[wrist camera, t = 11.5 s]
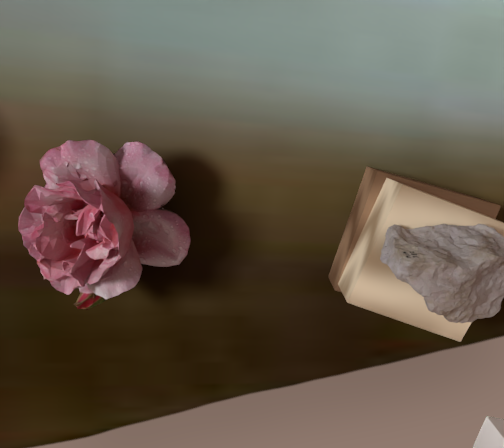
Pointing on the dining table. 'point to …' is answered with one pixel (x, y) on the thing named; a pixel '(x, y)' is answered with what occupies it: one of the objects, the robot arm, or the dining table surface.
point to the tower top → (380, 275)
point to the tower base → (367, 199)
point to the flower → (102, 219)
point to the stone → (450, 267)
